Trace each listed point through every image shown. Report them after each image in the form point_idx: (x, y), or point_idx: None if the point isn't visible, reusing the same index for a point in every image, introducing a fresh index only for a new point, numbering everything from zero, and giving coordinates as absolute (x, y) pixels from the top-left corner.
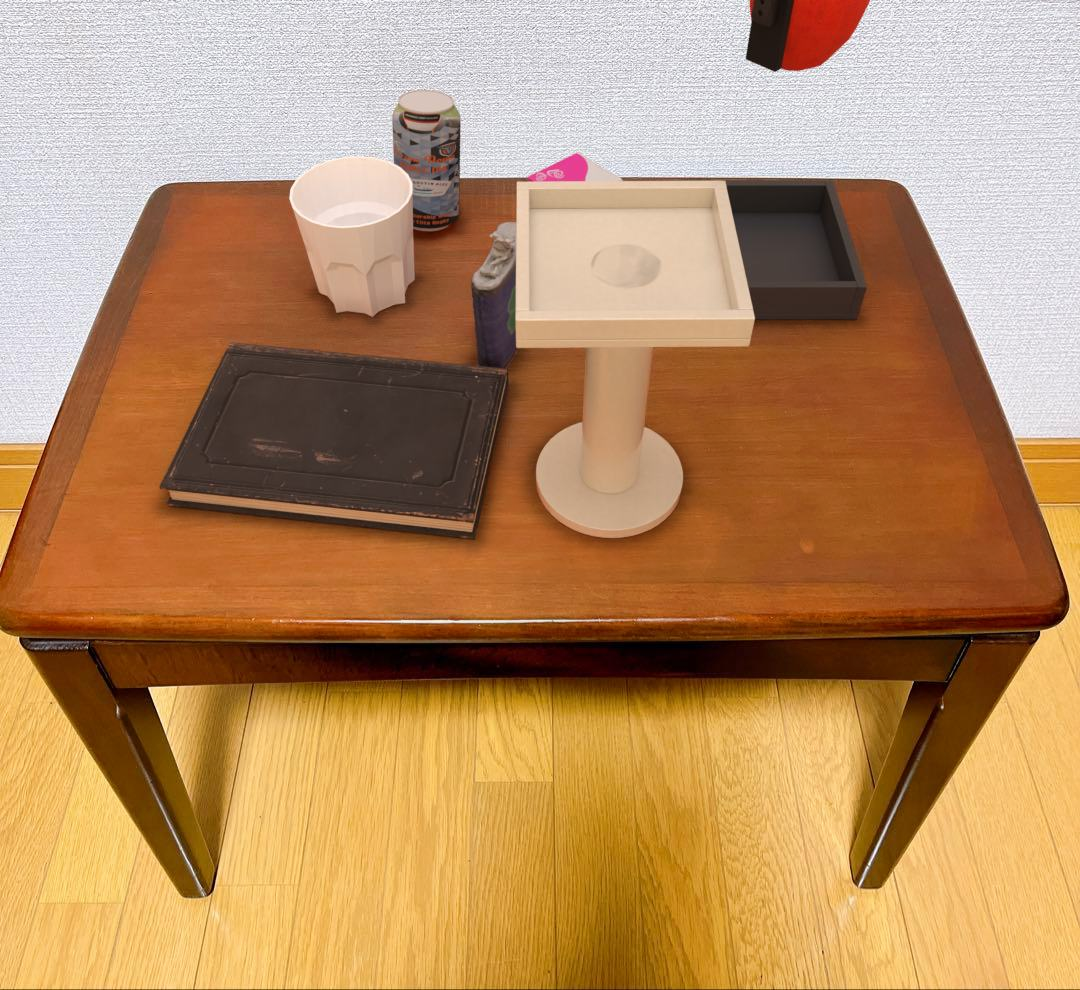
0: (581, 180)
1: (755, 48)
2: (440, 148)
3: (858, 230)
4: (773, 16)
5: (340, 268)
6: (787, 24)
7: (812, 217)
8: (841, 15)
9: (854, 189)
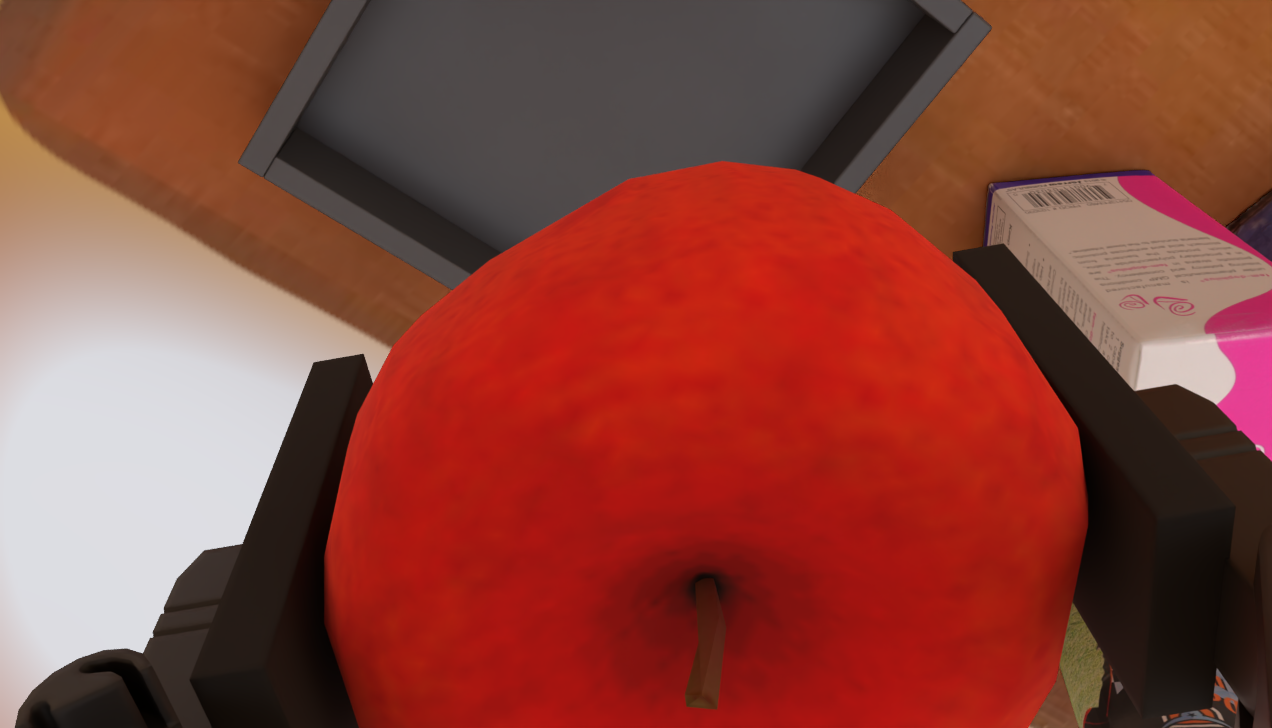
0: (1230, 404)
1: None
2: (1222, 721)
3: (225, 2)
4: (1168, 414)
5: None
6: (1061, 355)
7: (330, 120)
8: (854, 206)
9: (102, 162)
